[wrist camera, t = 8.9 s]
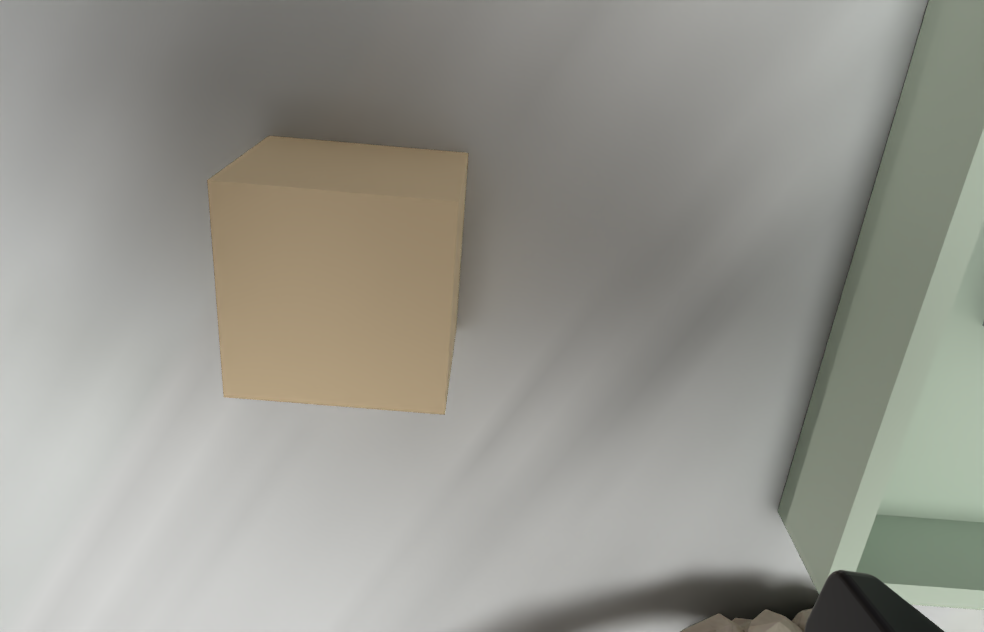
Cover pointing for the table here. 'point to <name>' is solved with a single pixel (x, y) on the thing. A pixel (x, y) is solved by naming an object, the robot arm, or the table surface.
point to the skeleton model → (753, 623)
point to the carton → (338, 273)
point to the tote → (908, 350)
